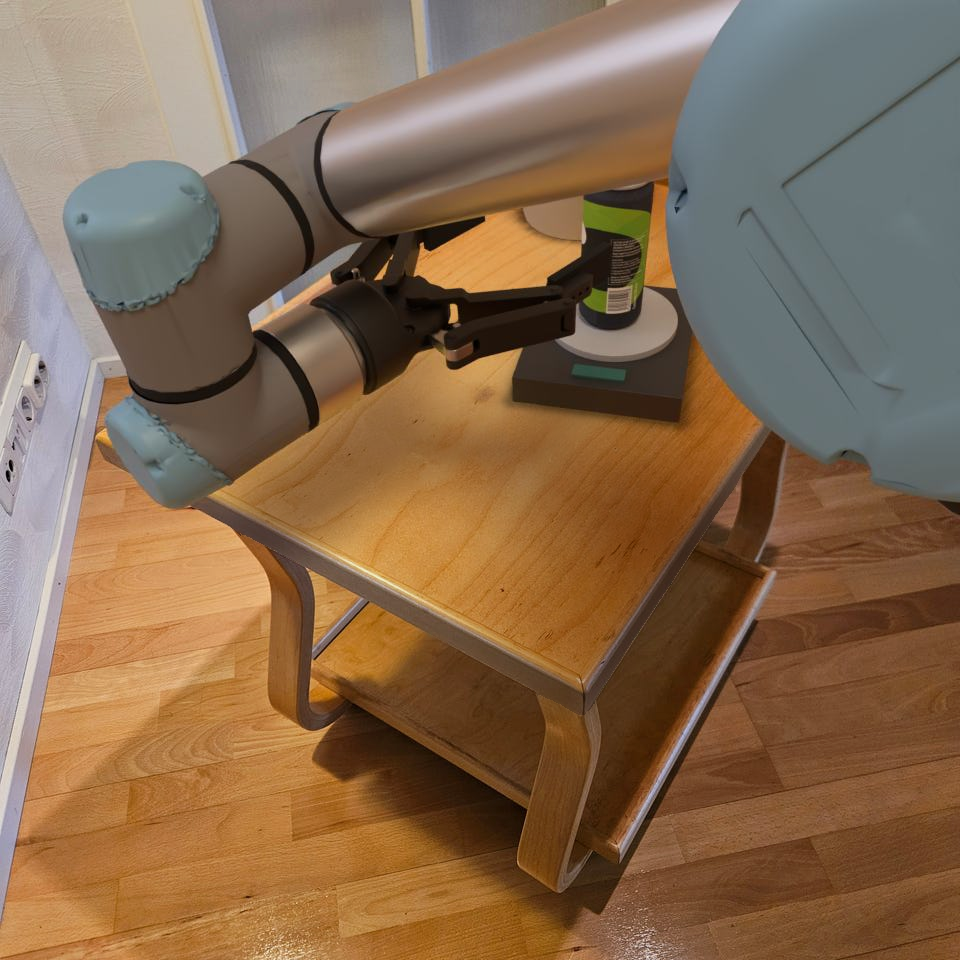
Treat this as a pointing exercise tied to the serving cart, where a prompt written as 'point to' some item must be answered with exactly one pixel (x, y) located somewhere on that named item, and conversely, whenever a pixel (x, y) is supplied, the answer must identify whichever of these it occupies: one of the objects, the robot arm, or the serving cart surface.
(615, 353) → the scale
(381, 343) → the robot arm
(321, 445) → the serving cart surface
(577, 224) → the bowl
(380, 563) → the serving cart surface
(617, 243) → the beverage can
